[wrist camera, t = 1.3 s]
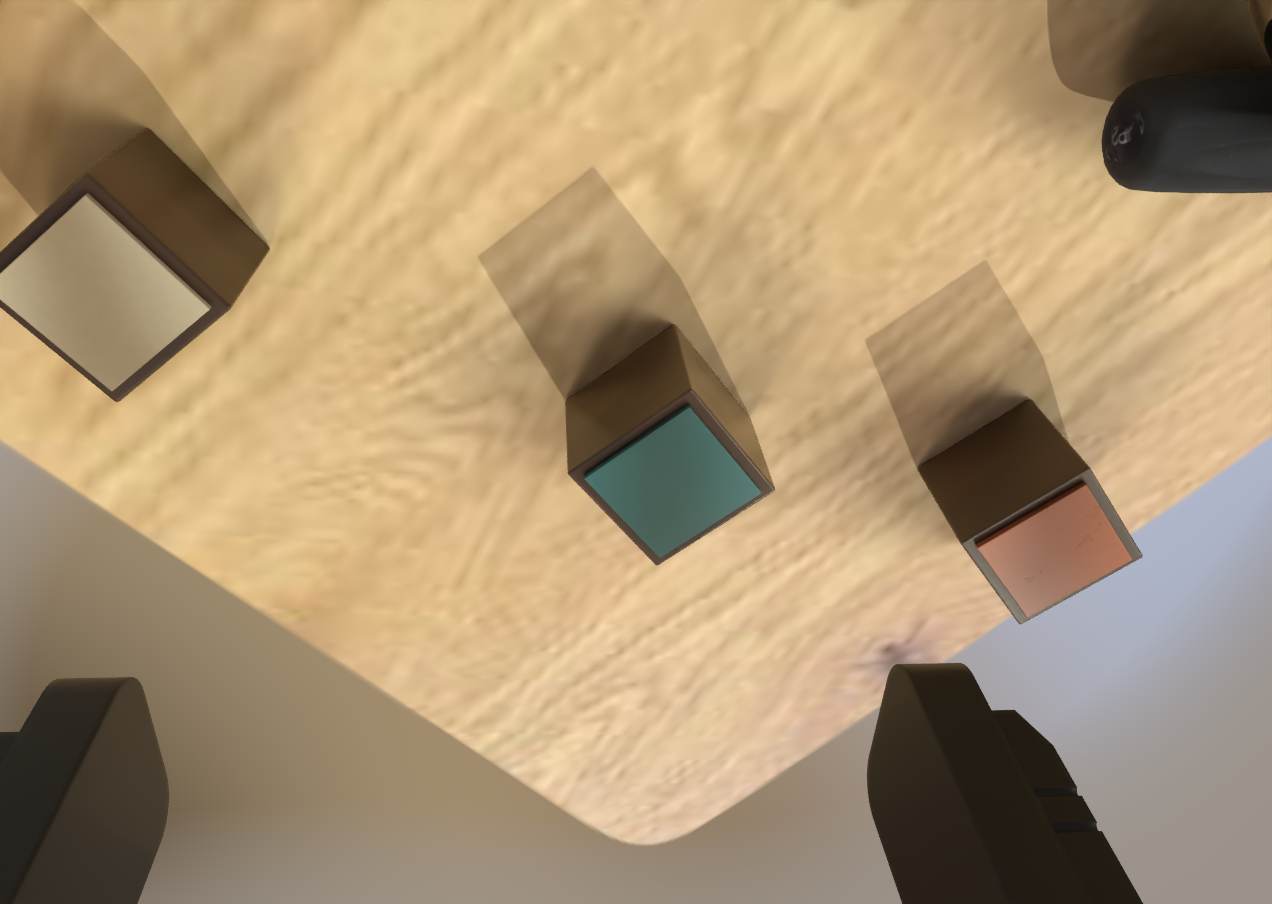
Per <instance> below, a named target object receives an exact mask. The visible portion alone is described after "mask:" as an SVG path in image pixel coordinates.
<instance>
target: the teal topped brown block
mask: <svg viewBox="0 0 1272 904" xmlns="http://www.w3.org/2000/svg"><path fill="white" fill-rule="evenodd" d="M565 407H566V435H567V464H568V474H569V475H570V477H571V478H572V479H573V480H574V481H575V482H576V483H577V484H578V485H579V486H580V487H581V488H582V489H583V490H584V491H585V492H586V493H587V494H588V495H589V496H590V497H591V498H592V499H593V500H594V501H595V502H596V503H597V504H598V506H599V507H600V508H601V509H602V510H603V511H604V512H605V513H606V514H607V515H608V516H609V517H610V518H611V519H612V520H613V521H614V522H615V523H616V524H617V525H618V526H619V527H620V528H621V529H622V530H623V531H624V532H625V534H626V535H627V536H628V537H629V538H630V539H631V540H632V541H633V542H634V543H635V544H636V545H637V546H638V547H639V548H640V549H641V550H642V551H643V552H644V553H645V554H646V555H647V556H648V557H649V558H650V559H651V560H652V562H653V563H654V564H655V565H659V564H661V563H662V562H664V561H665V560H667V559H669V558H670V557H672V556H673V555H675V554H676V553H678V552H679V551H681V550H683V549H684V548H686V547H687V546H689V545H690V544H692V543H694V542H695V541H697V540H698V539H700V538H701V537H703V536H705V535H706V534H708V533H709V532H711V531H712V530H714V529H716V528H717V527H719V526H720V525H722V524H723V523H725V522H727V521H728V520H730V519H731V518H733V517H734V516H736V515H738V514H739V513H741V512H742V511H744V510H745V509H747V508H749V507H750V506H752V505H753V504H755V503H756V502H758V501H760V500H761V499H763V498H764V497H766V496H767V495H769V494H770V493H772V492H774V491H775V487H774V485H773V482H772V479H771V476H770V473H769V470H768V467H767V465H766V462H765V459H764V456H763V453H762V450H761V447H760V445H759V442H758V439H757V436H756V433H755V430H754V427H753V425H752V422H751V419H750V417H749V416H748V414H747V413H746V412H745V411H744V409H743V408H742V407H741V406H740V404H739V403H738V402H737V401H736V399H735V398H734V397H733V396H732V394H731V393H730V392H729V391H728V390H727V388H726V387H725V386H724V385H723V383H722V382H721V381H720V380H719V378H718V377H717V376H716V375H715V373H714V372H713V371H712V370H711V368H710V367H709V366H708V365H707V363H706V362H705V361H704V360H703V359H702V357H701V356H700V355H699V354H698V352H697V351H696V350H695V349H694V347H693V346H692V345H691V344H690V342H689V341H688V340H687V339H686V337H685V336H684V335H683V334H682V332H681V331H680V330H679V329H678V328H677V326H676V325H672V326H670V327H669V328H668V329H666V330H665V331H663V332H662V333H661V334H659V335H658V336H656V337H655V338H654V339H652V340H651V341H649V342H648V343H647V344H645V345H644V346H642V347H641V348H640V349H638V350H637V351H635V352H634V353H632V354H631V355H630V356H628V357H627V358H625V359H624V360H623V361H621V362H620V363H618V364H617V365H616V366H614V367H613V368H611V369H610V370H609V371H607V372H606V373H604V374H603V375H602V376H600V377H599V378H597V379H596V380H595V381H593V382H592V383H590V384H589V385H587V386H586V387H585V388H583V389H582V390H580V391H579V392H578V393H576V394H575V395H573V396H572V397H571V398H569V399H568V400H566V402H565Z"/></svg>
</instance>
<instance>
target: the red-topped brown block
mask: <svg viewBox="0 0 1272 904" xmlns="http://www.w3.org/2000/svg"><path fill="white" fill-rule="evenodd" d="M917 469H918V471H919V473H920V475H921V477H922V478H923V480H924V482H925V483H926V485H927V487H928V489H929V490H930V492H931V494H932V495H933V497H934V499H935V501H936V502H937V504H938V506H939V507H940V509H941V511H942V512H943V514H944V516H945V518H946V519H947V521H948V523H949V524H950V526H951V528H952V530H953V531H954V533H955V535H956V536H957V538H958V540H959V542H960V543H961V545H962V546H963V547H964V549H965V550H966V552H967V553H968V554H969V556H970V557H971V558H972V560H973V561H974V563H975V564H976V565H977V567H978V568H979V569H980V571H981V572H982V574H983V575H984V576H985V578H986V579H987V580H988V582H989V583H990V585H991V586H992V587H993V589H994V590H995V591H996V593H997V594H998V596H999V597H1000V598H1001V600H1002V601H1003V602H1004V604H1005V605H1006V607H1007V608H1008V609H1009V611H1010V612H1011V613H1012V615H1013V616H1014V618H1015V619H1016V620H1017V622H1018V623H1019V624H1022V623H1024V622H1026V621H1027V620H1030V619H1031V618H1033V617H1035V616H1037V615H1038V614H1041V613H1042V612H1044V611H1046V610H1048V609H1049V608H1051V607H1053V606H1055V605H1057V604H1058V603H1060V602H1062V601H1064V600H1066V599H1067V598H1069V597H1071V596H1073V595H1075V594H1077V593H1078V592H1080V591H1082V590H1084V589H1086V588H1087V587H1089V586H1091V585H1093V584H1094V583H1096V582H1098V581H1100V580H1102V579H1104V578H1105V577H1107V576H1109V575H1111V574H1113V573H1114V572H1116V571H1118V570H1120V569H1122V568H1123V567H1125V566H1127V565H1129V564H1131V563H1132V562H1134V561H1136V560H1138V559H1140V558H1142V554H1141V552H1140V551H1139V549H1138V547H1137V546H1136V544H1135V542H1134V540H1133V539H1132V537H1131V535H1130V534H1129V532H1128V530H1127V529H1126V527H1125V525H1124V524H1123V522H1122V520H1121V519H1120V517H1119V515H1118V514H1117V512H1116V510H1115V509H1114V507H1113V505H1112V504H1111V502H1110V500H1109V499H1108V497H1107V495H1106V494H1105V492H1104V490H1103V489H1102V487H1101V485H1100V484H1099V482H1098V480H1097V479H1096V477H1095V475H1094V474H1093V472H1092V470H1091V469H1090V467H1089V466H1088V465H1087V464H1086V463H1085V461H1084V460H1083V459H1082V458H1081V457H1080V456H1079V454H1078V453H1077V452H1076V451H1075V450H1074V449H1073V447H1072V446H1071V445H1070V444H1069V443H1068V442H1067V440H1066V439H1065V438H1064V437H1063V436H1062V435H1061V433H1060V432H1059V431H1058V430H1057V429H1056V428H1055V426H1054V425H1053V424H1052V423H1051V422H1050V421H1049V419H1048V418H1047V417H1046V416H1045V415H1044V414H1043V412H1042V411H1041V410H1040V409H1039V408H1038V407H1037V406H1036V404H1035V403H1034V402H1033V401H1032V400H1031V399H1029V400H1027V401H1025V402H1024V403H1022V404H1020V405H1019V406H1017V407H1016V408H1014V409H1012V410H1011V411H1009V412H1007V413H1006V414H1004V415H1003V416H1001V417H999V418H998V419H996V420H995V421H993V422H991V423H990V424H988V425H986V426H985V427H983V428H982V429H980V430H978V431H977V432H975V433H973V434H972V435H970V436H969V437H967V438H965V439H964V440H962V441H961V442H959V443H957V444H956V445H954V446H952V447H951V448H949V449H948V450H946V451H944V452H943V453H941V454H939V455H938V456H936V457H935V458H933V459H931V460H930V461H928V462H926V463H925V464H923V465H922V466H920V467H918V468H917Z"/></svg>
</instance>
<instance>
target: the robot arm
mask: <svg viewBox="0 0 1272 904" xmlns="http://www.w3.org/2000/svg"><path fill="white" fill-rule="evenodd" d="M867 786H868V796H869V802H870V808H871V812H872V815H873V819H874V822H875V825H876V828H877V831H878V834H879V837H880V840H881V843H882V845H883V849H884V851H885V854H886V857H887V860H888V863H889V866H890V869H891V872H892V875H893V878H894V880H895V884H896V887H897V890H898V892H899V895H900V898H901V901H902V904H1143V903H1142V901H1141V899H1140V897H1139V896H1138V894H1137V892H1136V890H1135V889H1134V887H1133V885H1132V883H1131V882H1130V880H1129V878H1128V876H1127V875H1126V873H1125V871H1124V869H1123V867H1122V866H1121V864H1120V862H1119V860H1118V859H1117V857H1116V855H1115V853H1114V852H1113V850H1112V848H1111V846H1110V845H1109V843H1108V841H1107V839H1106V838H1105V836H1104V834H1103V832H1102V831H1098V830H1097V827H1096V823H1097V822H1096V820H1095V818H1094V816H1093V815H1092V813H1091V811H1090V810H1089V808H1088V806H1087V804H1086V802H1085V801H1084V799H1083V797H1082V796H1078V794H1077V787H1076V785H1075V783H1074V781H1073V780H1072V778H1071V776H1070V774H1069V772H1068V771H1067V769H1066V767H1065V766H1064V764H1063V762H1062V760H1061V758H1060V757H1059V755H1058V754H1057V752H1056V750H1055V748H1054V746H1053V745H1052V744H1051V743H1050V742H1049V741H1048V740H1047V739H1045V738H1044V737H1043V736H1042V735H1041V734H1040V733H1039V732H1038V731H1037V730H1036V729H1035V728H1034V727H1032V726H1031V725H1030V724H1029V723H1028V722H1027V721H1026V720H1025V719H1024V718H1023V717H1022V716H1021V715H1019V714H1018V713H1017V712H1016V711H1015V710H996V711H994V710H993V711H992V710H991V708H990V706H989V705H988V703H987V701H986V699H985V697H984V695H983V693H982V691H981V689H980V687H979V685H978V683H977V681H976V680H975V678H974V676H973V674H972V672H971V671H970V670H969V669H968V667H967V666H965V665H964V664H962V663H937V664H897V665H894V666H893V667H892V669H891V670H890V672H889V675H888V678H887V683H886V687H885V691H884V695H883V699H882V704H881V708H880V712H879V717H878V720H877V725H876V729H875V733H874V738H873V742H872V746H871V751H870V754H869V759H868V768H867ZM168 799H169V789H168V779H167V774H166V771H165V767H164V763H163V760H162V756H161V752H160V749H159V745H158V741H157V737H156V734H155V730H154V726H153V723H152V719H151V715H150V712H149V708H148V705H147V701H146V698H145V694H144V690H143V687H142V685H141V683H140V682H139V681H138V680H137V679H136V678H134V677H119V678H118V677H117V678H71V679H70V678H67V679H56V680H54V681H52V682H51V683H50V684H49V685H48V686H47V687H46V688H45V690H44V691H43V693H42V694H41V696H40V698H39V700H38V701H37V703H36V705H35V706H34V708H33V710H32V711H31V713H30V715H29V717H28V718H27V720H26V722H25V723H24V725H23V727H22V729H21V730H20V732H0V904H137V903H138V901H139V898H140V895H141V893H142V890H143V887H144V885H145V882H146V880H147V877H148V874H149V871H150V869H151V866H152V864H153V861H154V858H155V856H156V853H157V850H158V848H159V845H160V843H161V840H162V837H163V833H164V829H165V825H166V820H167V813H168V803H169V801H168Z"/></svg>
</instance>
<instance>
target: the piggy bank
mask: <svg viewBox="0 0 1272 904" xmlns="http://www.w3.org/2000/svg"><path fill="white" fill-rule="evenodd" d="M1246 2H1247V7H1248V11H1249V14H1250V18H1251V21H1252V24H1253V27H1254V30H1255V33H1256V35H1257V37H1258V39H1259V42H1260V44H1261V46H1262V48H1263V50H1264V51H1265V53H1266V55H1267V56H1268V58H1269V60H1270V61H1271V63H1272V0H1246Z"/></svg>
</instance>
